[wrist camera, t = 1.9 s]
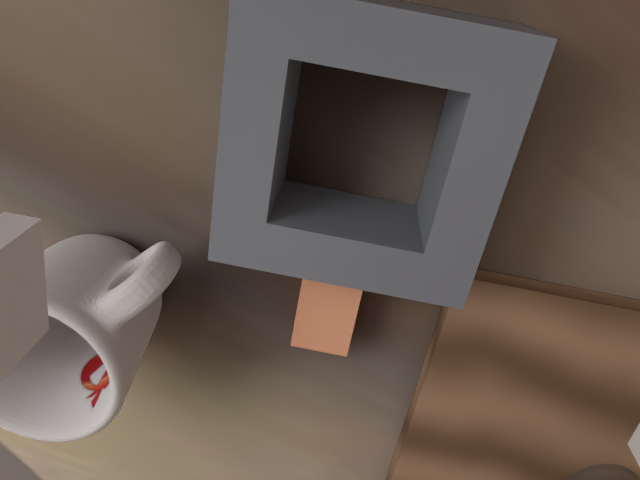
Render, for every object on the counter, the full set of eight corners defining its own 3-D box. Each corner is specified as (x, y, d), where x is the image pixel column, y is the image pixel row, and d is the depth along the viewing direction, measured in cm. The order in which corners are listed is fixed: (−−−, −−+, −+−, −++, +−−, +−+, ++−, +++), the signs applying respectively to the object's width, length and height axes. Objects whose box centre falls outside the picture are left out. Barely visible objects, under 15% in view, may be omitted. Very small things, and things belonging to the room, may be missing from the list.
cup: (147, 155, 27) (64, 224, 20) (249, 273, 29) (208, 373, 22) (11, 261, 30) (-102, 352, 23) (112, 358, 33) (39, 467, 26)
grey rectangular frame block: (260, -26, 23) (231, -24, 18) (522, 23, 23) (557, 38, 18) (224, 309, 30) (198, 368, 26) (419, 347, 30) (426, 413, 26)
